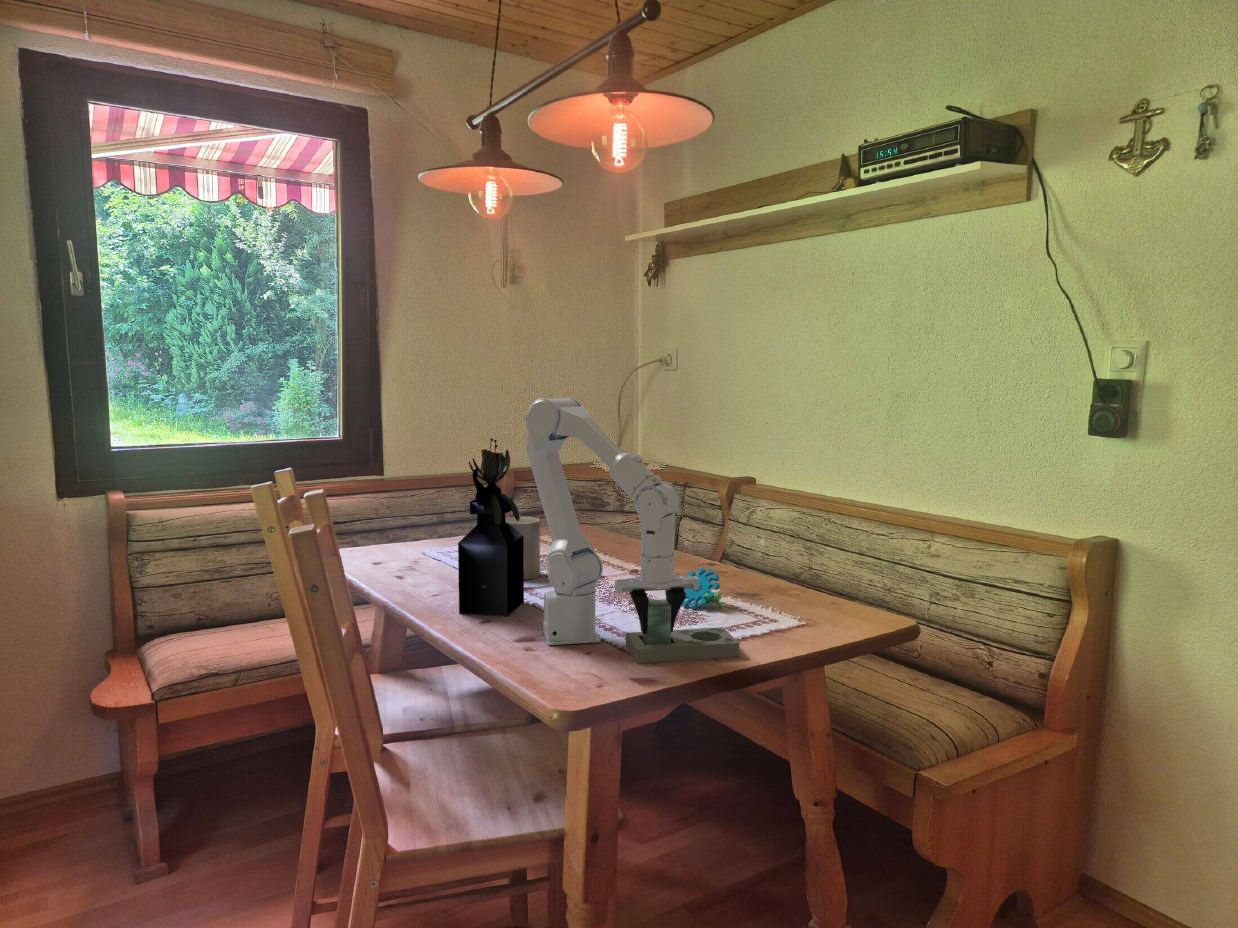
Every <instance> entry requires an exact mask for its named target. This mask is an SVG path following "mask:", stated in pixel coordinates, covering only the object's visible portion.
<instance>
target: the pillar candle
mask: <svg viewBox="0 0 1238 928" xmlns="http://www.w3.org/2000/svg"><path fill="white" fill-rule="evenodd" d="M519 516H520V519H519V521H517V520H516V519H515V517H514V516H507V517H505V522H507V523H508V524H509V525H511V526H512V527H513V528H515V529H516V530H517V531H519V532H520V533H521V534H523V535H524V581H527V580H529V581H530V580H534V579H536V578H538V577H539V576H540V574H541V572H540V571H541V554H540V553H541V520H540V519H541V518H538V517H533V516H522V515H521V513H519Z"/></svg>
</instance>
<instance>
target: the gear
mask: <svg viewBox="0 0 1238 928" xmlns="http://www.w3.org/2000/svg"><path fill="white" fill-rule="evenodd" d="M706 570H707V571H706ZM688 576H696V577H697V578H699V590H693V589H684V592H685V593H686V598H685V600H684V602H683V603H682V605H681V606H683V607H684V608H685V609H687V608H688V607H690V608H691V609H693V610H697V608H698V604H700V606H701V607H704V606H707V605H708V604H709V603H712V604H714V605H717V607H718V608H719V609H722V608H723V604H722V603H721V602H720V600H721V599H722V596H721V594H720V593H719V592H718V590H720V587H721V584H720V583H719V581H720V576H719V574H717V573H715V571H714V570H713V569H712V568H708V569H705V568H704V567H699V568H698V572H697V573H696V572H695V570H691V571H688ZM712 581H714V582H712ZM711 588H714V590H716V592H714V591H712V590H711ZM686 607H687V608H686Z"/></svg>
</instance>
